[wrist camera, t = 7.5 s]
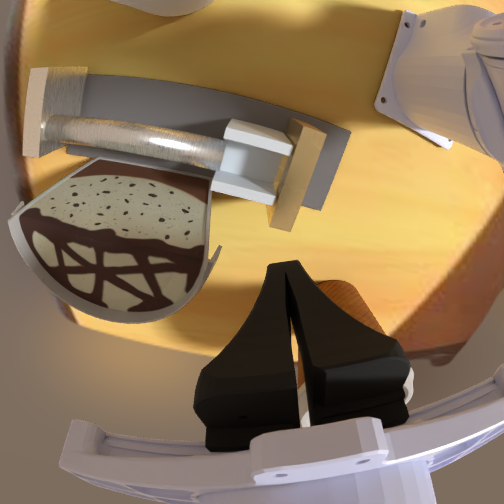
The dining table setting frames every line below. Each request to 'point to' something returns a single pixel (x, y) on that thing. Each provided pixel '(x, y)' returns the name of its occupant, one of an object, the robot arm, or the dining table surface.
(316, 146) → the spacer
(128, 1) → the cup
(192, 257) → the food container
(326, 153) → the mat
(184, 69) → the dining table surface
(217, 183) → the bearing block
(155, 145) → the shaft
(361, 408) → the robot arm
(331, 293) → the disposable coffee cup
